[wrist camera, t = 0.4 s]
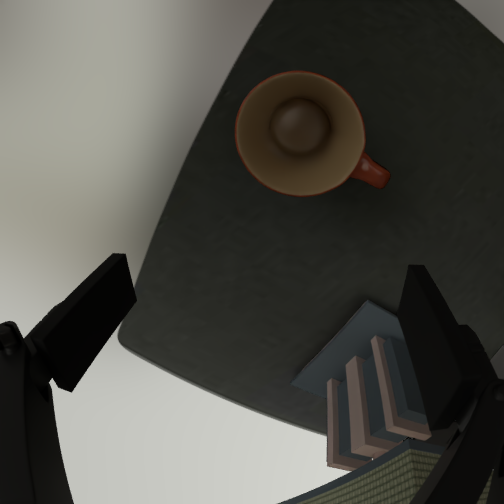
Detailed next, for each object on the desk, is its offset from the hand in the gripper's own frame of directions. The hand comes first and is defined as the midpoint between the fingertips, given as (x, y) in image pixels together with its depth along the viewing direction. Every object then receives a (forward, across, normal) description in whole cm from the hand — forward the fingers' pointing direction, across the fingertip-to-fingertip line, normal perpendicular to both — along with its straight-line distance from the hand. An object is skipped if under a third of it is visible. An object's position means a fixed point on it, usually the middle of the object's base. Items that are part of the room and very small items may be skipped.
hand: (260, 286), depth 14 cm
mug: (+20, +3, +5) cm, 21 cm away
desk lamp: (+20, +12, -23) cm, 33 cm away
